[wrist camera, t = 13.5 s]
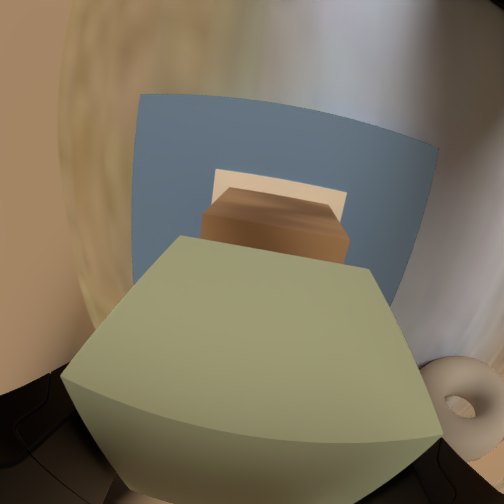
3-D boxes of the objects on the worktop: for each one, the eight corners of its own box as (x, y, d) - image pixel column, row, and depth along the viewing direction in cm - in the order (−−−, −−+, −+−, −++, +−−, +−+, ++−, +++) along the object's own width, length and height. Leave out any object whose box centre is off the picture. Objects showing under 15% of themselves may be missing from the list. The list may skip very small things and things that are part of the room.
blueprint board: (432, 147, 13) (439, 148, 12) (363, 349, 18) (366, 357, 17) (147, 95, 13) (139, 94, 12) (140, 309, 19) (135, 316, 18)
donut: (487, 339, 17) (537, 420, 8) (473, 367, 18) (512, 447, 9) (394, 353, 18) (432, 468, 9) (383, 383, 20) (408, 488, 10)
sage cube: (368, 269, 7) (443, 434, 2) (317, 391, 9) (322, 520, 4) (179, 235, 7) (60, 376, 3) (179, 367, 9) (129, 489, 5)
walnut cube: (328, 204, 14) (350, 240, 9) (307, 290, 16) (313, 351, 11) (229, 187, 14) (202, 213, 9) (219, 275, 16) (194, 330, 11)
